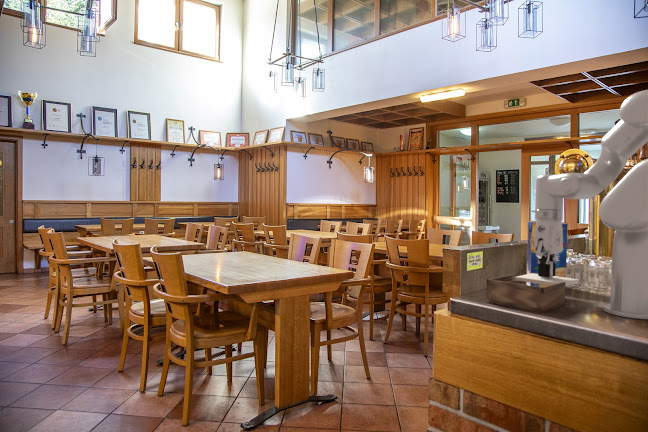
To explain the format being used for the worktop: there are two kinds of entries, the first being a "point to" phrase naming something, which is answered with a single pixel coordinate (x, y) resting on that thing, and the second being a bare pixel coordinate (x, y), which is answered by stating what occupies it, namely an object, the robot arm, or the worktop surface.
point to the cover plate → (544, 280)
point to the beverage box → (533, 259)
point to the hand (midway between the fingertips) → (546, 275)
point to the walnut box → (525, 294)
